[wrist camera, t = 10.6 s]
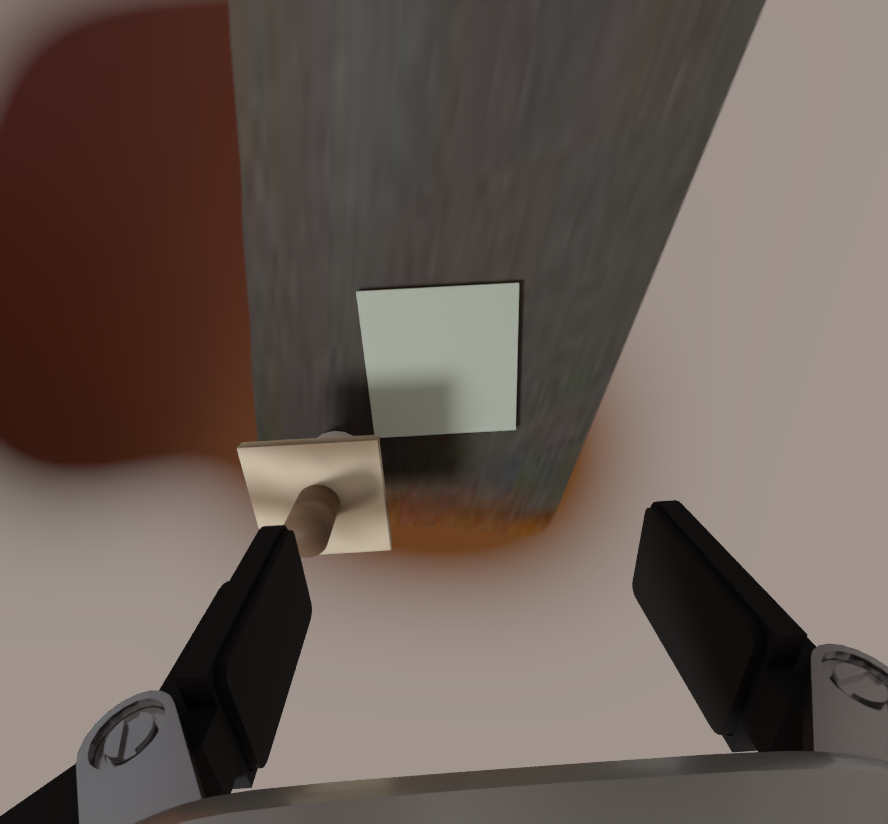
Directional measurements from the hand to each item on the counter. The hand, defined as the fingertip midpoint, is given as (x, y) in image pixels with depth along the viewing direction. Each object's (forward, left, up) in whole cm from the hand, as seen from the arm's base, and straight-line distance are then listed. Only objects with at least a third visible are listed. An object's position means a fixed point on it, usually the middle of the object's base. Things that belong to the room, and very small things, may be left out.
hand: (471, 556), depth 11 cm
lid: (+12, -11, -21) cm, 27 cm away
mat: (+3, 0, -28) cm, 28 cm away
